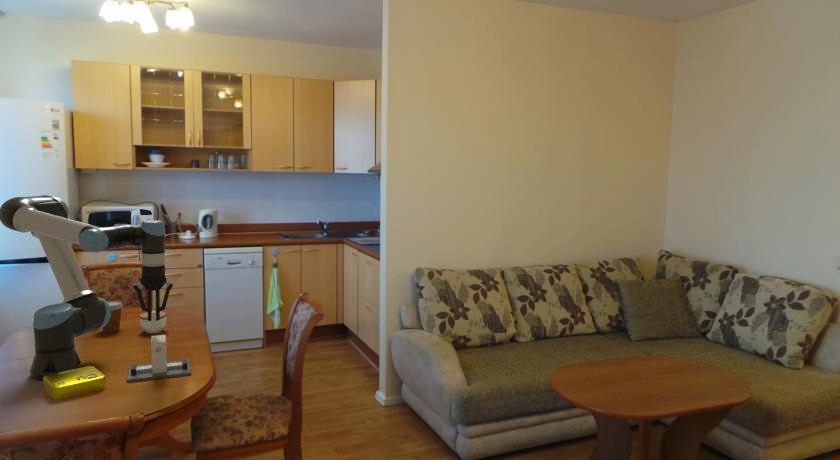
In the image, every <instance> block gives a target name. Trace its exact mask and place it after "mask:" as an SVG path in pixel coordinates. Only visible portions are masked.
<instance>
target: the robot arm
mask: <svg viewBox="0 0 840 460" xmlns="http://www.w3.org/2000/svg"><path fill="white" fill-rule="evenodd" d="M0 222H1V224H2V225H3V226H4V227H5V228H7V229H9V230H11V231H16V232H19V233H24V234H25V233H28V232H30V234H31V236H32V237H33V238H37V239H38V240H39V242H40V244H41V247H42V249H43V252H44V254H45V257H46V259H47V261H48V264H49V266H50V268H51V270H52V271H51V272H52V273H53V276H54V277H55V280H56V282H57V285H58V287H59V289H60V292H61V294H62V297H63V300H62V302H60V303H59V302H58V303H55V304H50V305H46V306H42V307H41V308H39V309H37V310H36V311H35V312H34V314H33V323H32V326H33V333H34V334H33V335H34V336H33V337H34V352H35V353H34V357H33V360H32V363H31V366H30V369H29V376H30V378H31V379H33V380H36V381H43V377H44V376H45V375H49V374H54V373H58V372H63V371H68V370H72V369H77V368H82V367H83V366H82V362H81V359H80V357H79V354H78V352H77V349H76V345H75V343H76V342H75V341H76V340H75V338H78V337H80V336H84V335H86V334H89V333H95V332H96V331H98V330H101V329H103V327H104V326H106V325H107V323H108V322H109V319H110V316H111V309H110V306H109V304H108V302H109V301H107V299H106V300H105V299H104V298H103V297H99V296H98V294H97V293H96V291H95V290H92V289H90V287H89V285H88V282H87V280H86V278H85V276H84V273H83V271H82V268H81V266H80V264H79V261H78V259H77V255H76V254H75V251H74V249H73V247H72V245H71V244H74V245H79V246H80V248H81V249H82V250H84V251H85V252H88V253H94V252H95V253H99V252H103V251H107V250H113V249H119V248H125V247H138V248H140V249H141V251H140V252H141V255H140V257H141V264H142V265H141V279H139V282H136V283H134V284H133V289H134V290H135V292H136V294H137V297H138V301H139V304H140V308H141V311H142V312H145V313H146V312H148V321H151V331H155V330H156V321H159V320H160V311H161V312H163V311H164V310H166V307H167V303H168V300H169V295H170V292H171V289H172V288H173V287H174V283H173V282H171V281H168V279H167V277H166V265H165V263H166V250H165V248H166V247H165V246H166V227H165V223H164V221H162V220H158V219H157V220H153V219H152V220H150V219H149V220H148V219H147V220H142V222H141V223H140V225H137V224H128V223H115V224H114V225H112V226H107V227H106V226H105V227H100V226H97V225H92V224H89V223H85V222H82V221H77V220H74V219H71V218H70V210H69V207H68V205H67V203H66V202H65V201H64V200H63V199H62V198H60V197H57V196H54V195H34V196H16V197H12V198H10V199H7V200H6V201H5V202H3V203H2V204H1V206H0ZM164 286H165V288H166V289H165V292H164V296H163V300H162V304H160V303H161V300H160V298H161V297H160V294H161V293H160V291H161V289H162V288H163V287H164ZM142 287H143V288H144V289H145V290H147V305H146V301H145V299H144V295H143V292H142ZM153 291H154V292H155V310H154V311H153V305H152V304H153V300H152V299H153V298H152V297H153V295H152V294H153ZM160 305H161V306H160Z"/></svg>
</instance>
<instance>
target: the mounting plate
mask: <svg viewBox="0 0 840 460" xmlns="http://www.w3.org/2000/svg"><path fill="white" fill-rule="evenodd" d="M166 362H167V363H166V368H167V372H162V373H154V374H152V363H145V364H143V363H142V364H138V365H137V364H132V365H129V367H128V371H127V378H126V383H133V382H136V383H137V382H142V381H143V382H144V381H151V380H152V379H153V380H159V379H167V378H168V379H169V378H176V377H184V376H191V375H192V374H191V373H192V372H191V369H192V368H191V361H190V359H186V358H185V359H182V360H174V361H173V360H172V361H171V360H170V361H166Z"/></svg>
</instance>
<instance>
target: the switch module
mask: <svg viewBox="0 0 840 460" xmlns="http://www.w3.org/2000/svg"><path fill="white" fill-rule="evenodd" d="M150 340H151V342H150V348H151V364H152V374H154V373H162V372H167V368H166V363H167V362H168V361H167V343H166V342H167V341H166V334H158V335H151V339H150Z"/></svg>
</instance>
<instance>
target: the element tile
mask: <svg viewBox="0 0 840 460" xmlns="http://www.w3.org/2000/svg"><path fill="white" fill-rule="evenodd" d="M81 367H82V368H77V369H72V370H68V371H63V372H58V373H54V374H49V375H45V376H44V377H43V380H42V381H43V390H44V391H45V392H46V393H47V394H48V396H50V397H51V398H52V399H53V400H57V401H58V400H64V399H67V398H72V396H73V397H76V395H77V396H80V395H79V394H81V395H85V394H88V393H87V392H89V393H92V392H91V391H93V392H96V391H95V390H97V391H100V389H101V390H104V389H105V388H106V387H105V386H106V375H105V374H103V372H101V371H100V370H99V369H98V368H96V367H95V366H92V365H88V366H81ZM103 388H104V389H103ZM84 393H85V394H84Z"/></svg>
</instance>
